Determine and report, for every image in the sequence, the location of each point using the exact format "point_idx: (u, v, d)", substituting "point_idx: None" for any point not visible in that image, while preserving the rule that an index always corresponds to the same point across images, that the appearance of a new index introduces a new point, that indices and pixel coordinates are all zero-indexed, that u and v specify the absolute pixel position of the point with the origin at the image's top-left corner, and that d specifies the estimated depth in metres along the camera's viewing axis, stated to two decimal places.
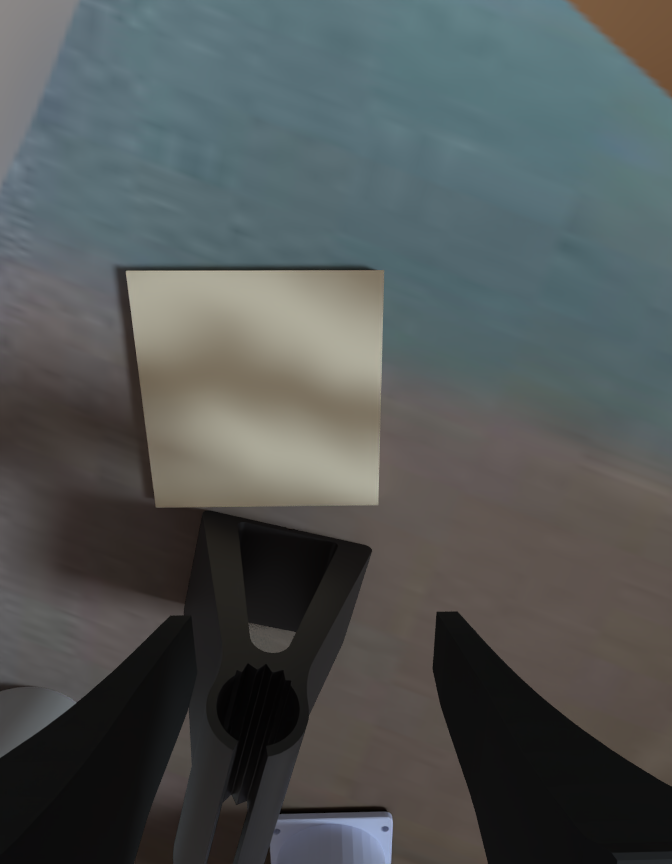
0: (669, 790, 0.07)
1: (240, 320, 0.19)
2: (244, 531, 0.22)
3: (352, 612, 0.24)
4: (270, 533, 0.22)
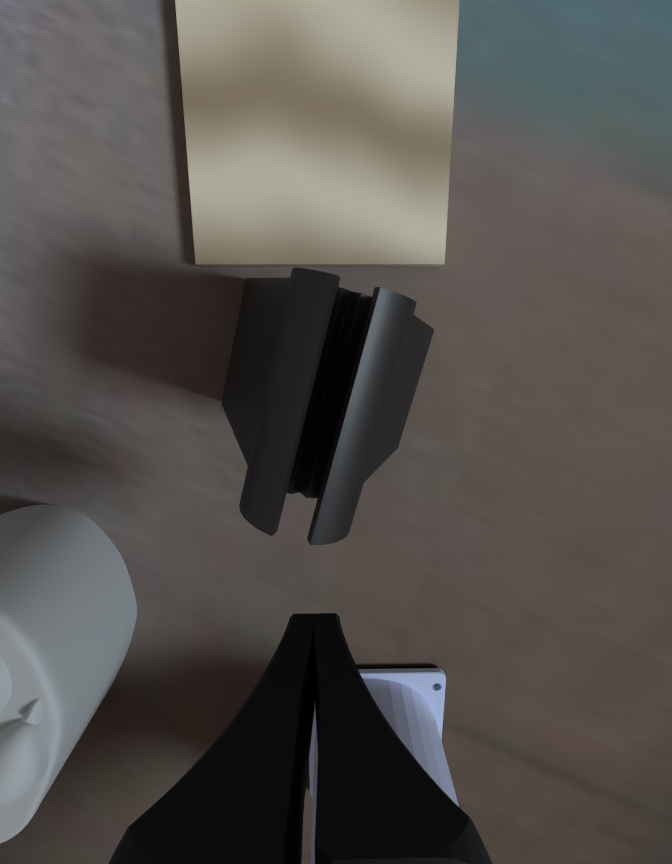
0: (438, 795, 0.06)
1: (297, 21, 0.17)
2: None
3: (409, 408, 0.21)
4: None
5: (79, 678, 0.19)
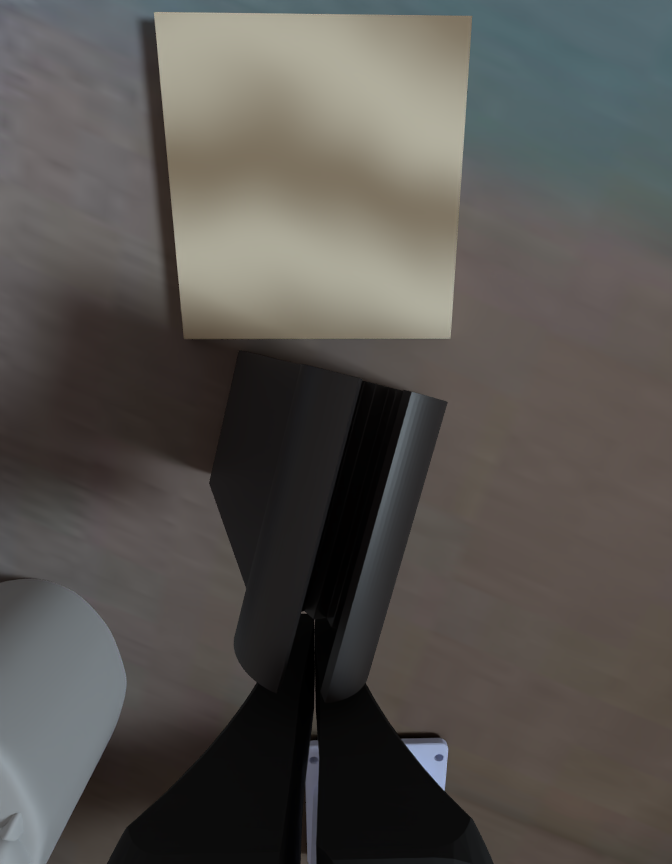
0: (439, 795, 0.06)
1: (293, 84, 0.15)
2: None
3: None
4: None
5: (62, 779, 0.18)
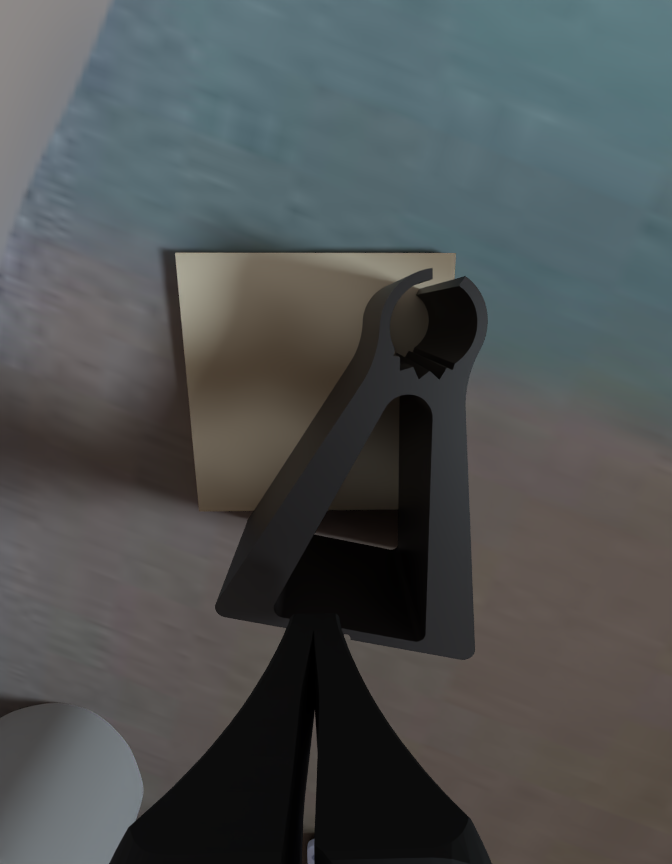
0: (438, 795, 0.06)
1: (297, 308, 0.17)
2: None
3: None
4: (322, 539, 0.20)
5: None
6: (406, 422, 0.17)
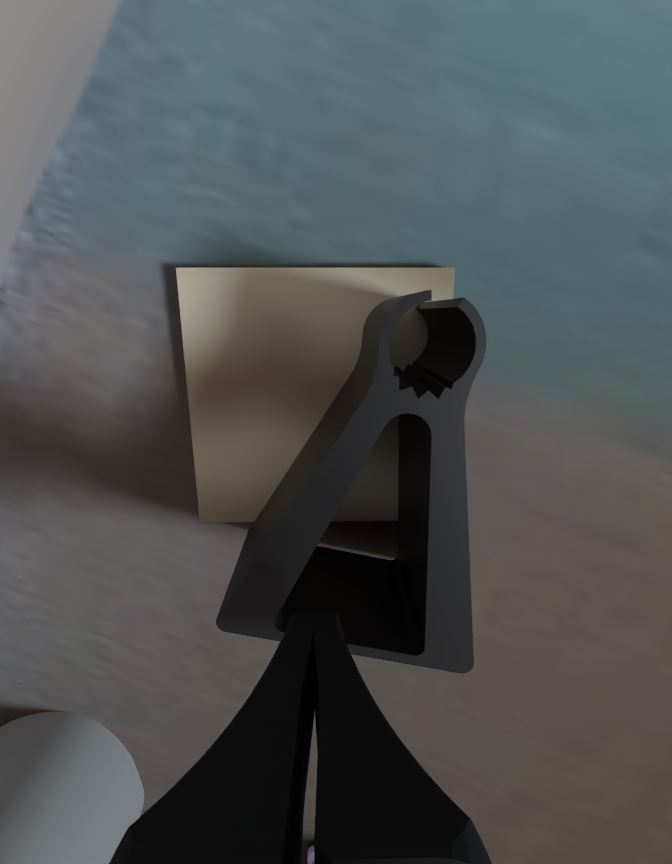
0: (438, 795, 0.06)
1: (297, 321, 0.18)
2: None
3: None
4: (322, 550, 0.20)
5: None
6: (405, 436, 0.17)
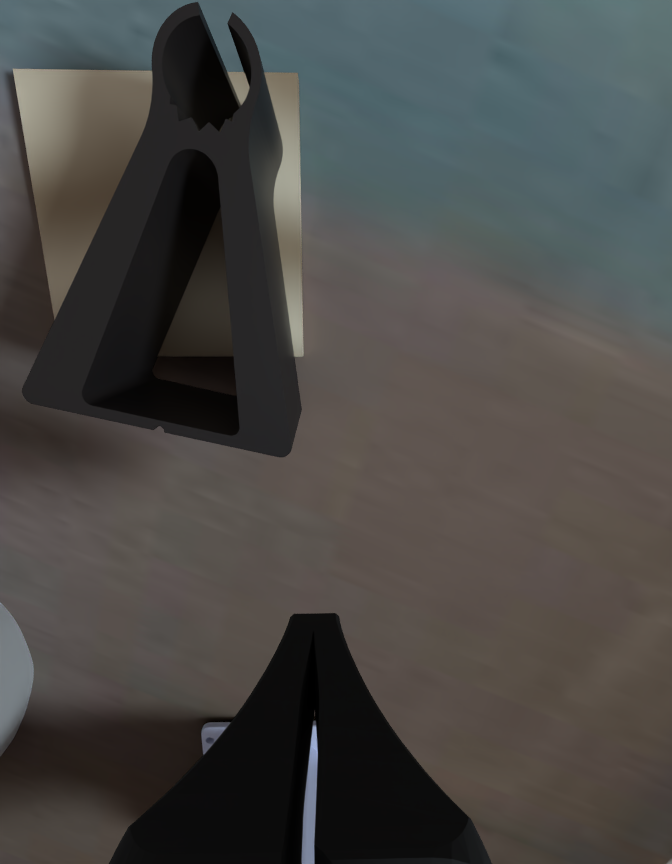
0: (438, 795, 0.06)
1: (142, 131, 0.17)
2: (155, 380, 0.19)
3: (295, 429, 0.17)
4: (185, 386, 0.20)
5: None
6: None
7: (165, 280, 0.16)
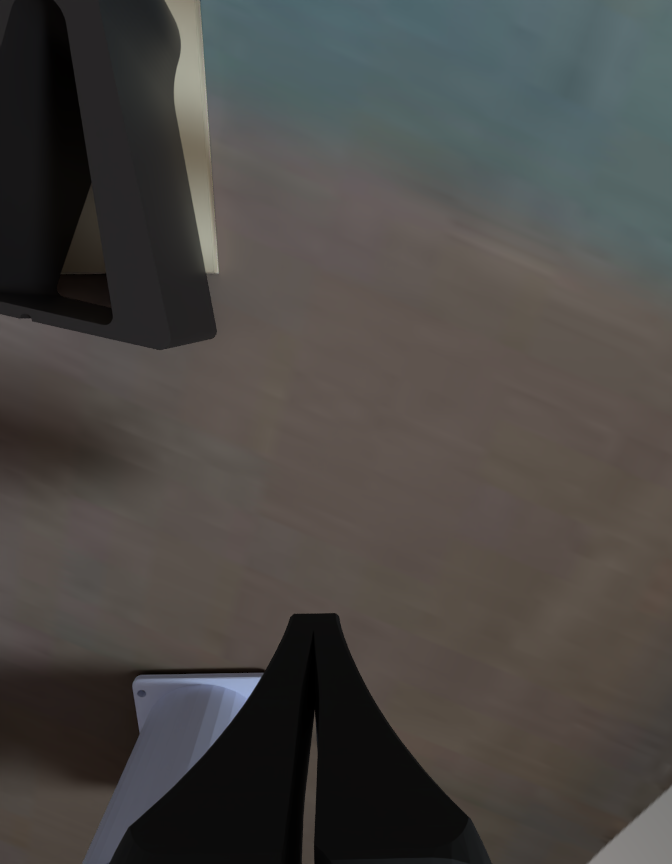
0: (438, 795, 0.06)
1: None
2: (57, 296, 0.18)
3: (190, 333, 0.16)
4: (91, 304, 0.19)
5: None
6: None
7: (47, 172, 0.15)
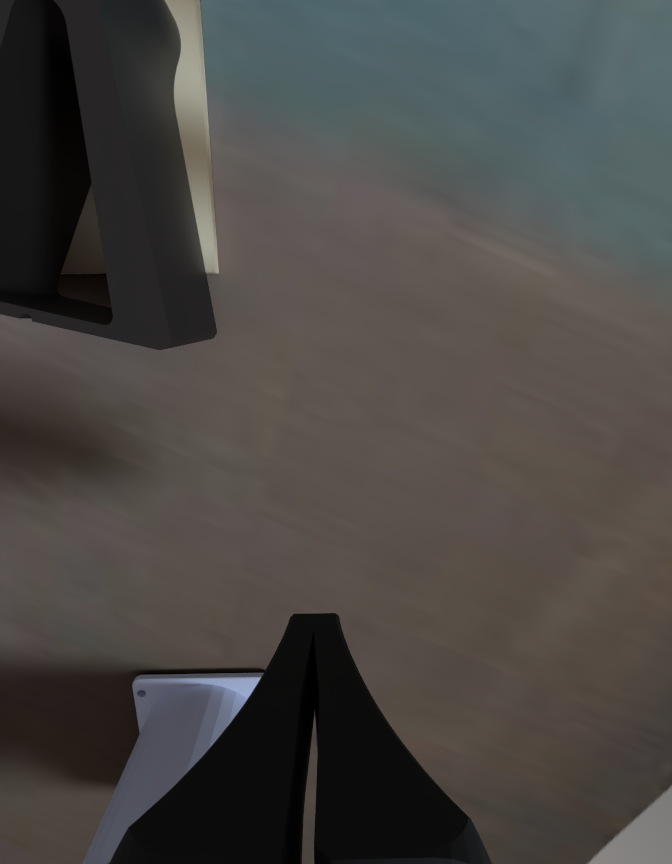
0: (438, 795, 0.06)
1: None
2: (57, 296, 0.18)
3: (190, 333, 0.16)
4: (91, 304, 0.19)
5: None
6: None
7: (47, 172, 0.15)
